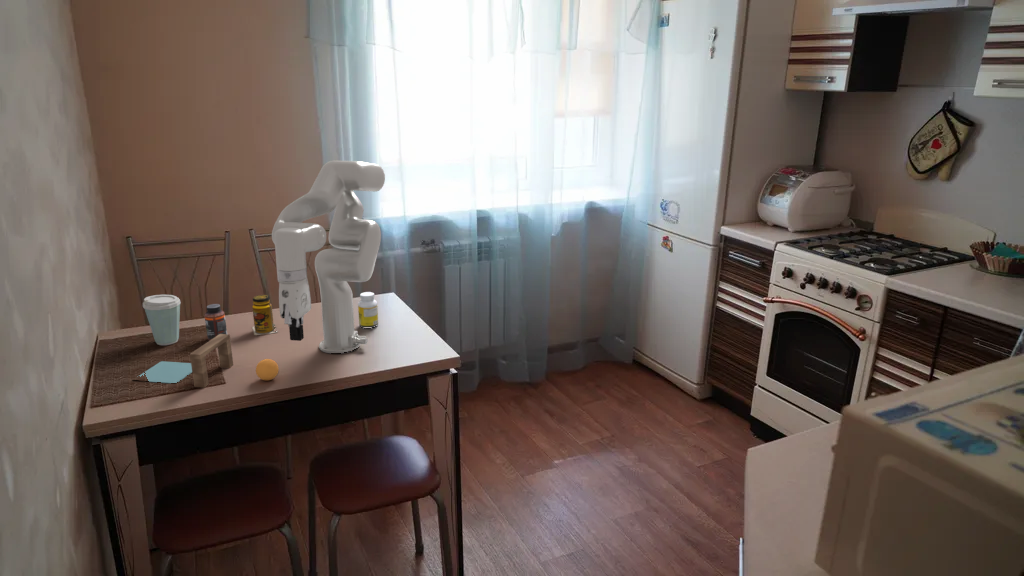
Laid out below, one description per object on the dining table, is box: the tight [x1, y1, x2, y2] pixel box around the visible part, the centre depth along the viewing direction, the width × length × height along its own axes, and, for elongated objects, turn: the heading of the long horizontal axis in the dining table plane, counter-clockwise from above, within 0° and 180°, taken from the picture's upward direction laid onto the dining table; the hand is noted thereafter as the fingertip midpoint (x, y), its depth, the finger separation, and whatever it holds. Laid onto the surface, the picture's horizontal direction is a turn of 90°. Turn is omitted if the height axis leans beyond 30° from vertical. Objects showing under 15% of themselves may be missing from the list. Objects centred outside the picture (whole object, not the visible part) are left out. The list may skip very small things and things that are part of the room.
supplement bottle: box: [204, 303, 228, 342], centre depth 212 cm, size 6×6×11 cm
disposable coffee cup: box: [142, 294, 182, 346], centre depth 208 cm, size 11×11×15 cm
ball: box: [255, 358, 279, 381], centre depth 185 cm, size 6×6×6 cm
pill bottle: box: [357, 291, 379, 328], centre depth 225 cm, size 6×6×12 cm
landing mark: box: [138, 360, 192, 384], centre depth 189 cm, size 13×13×1 cm
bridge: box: [189, 333, 234, 389], centre depth 186 cm, size 3×15×10 cm, turn 173°
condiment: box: [251, 294, 278, 336], centre depth 220 cm, size 7×8×12 cm
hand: (297, 339), depth 181 cm, fingers closed
